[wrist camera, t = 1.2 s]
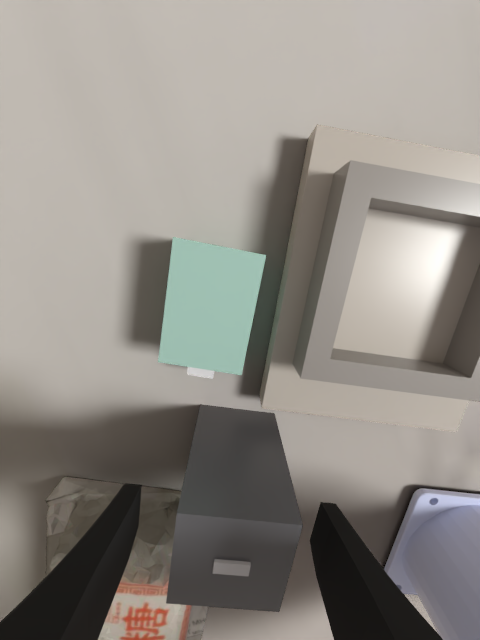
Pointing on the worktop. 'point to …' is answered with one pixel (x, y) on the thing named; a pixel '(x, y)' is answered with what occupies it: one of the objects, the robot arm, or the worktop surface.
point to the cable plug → (209, 307)
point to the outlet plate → (379, 285)
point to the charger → (234, 515)
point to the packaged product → (143, 565)
